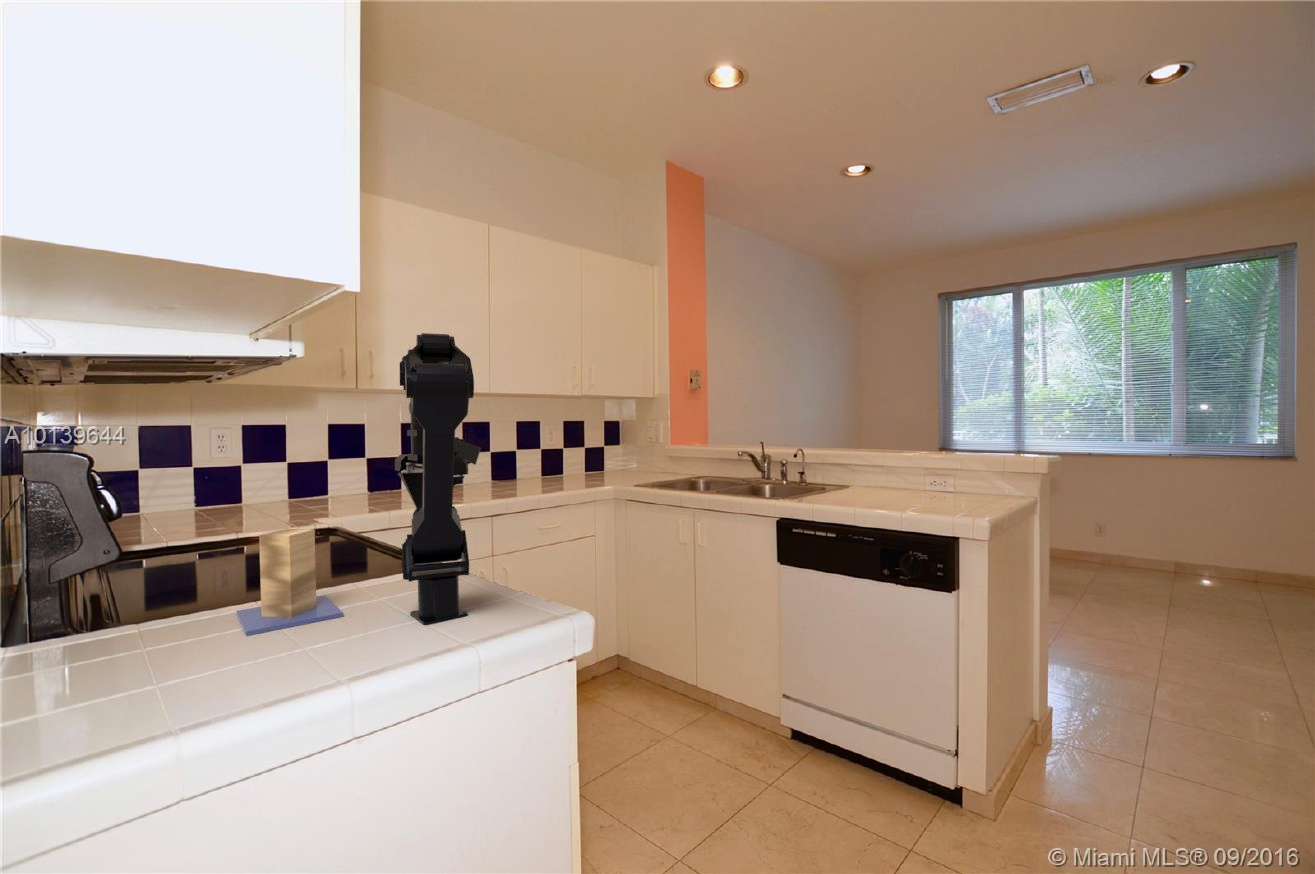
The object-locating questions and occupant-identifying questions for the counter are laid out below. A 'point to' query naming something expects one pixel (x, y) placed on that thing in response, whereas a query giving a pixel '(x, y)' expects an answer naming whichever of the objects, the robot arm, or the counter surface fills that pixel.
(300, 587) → the oak block
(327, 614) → the blue tile
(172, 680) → the counter surface
